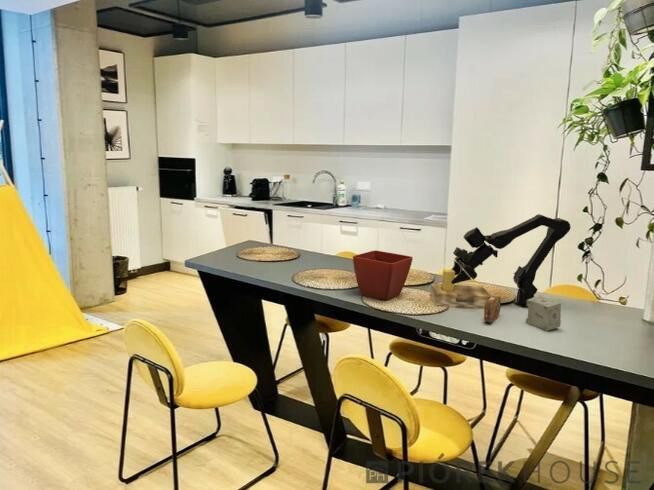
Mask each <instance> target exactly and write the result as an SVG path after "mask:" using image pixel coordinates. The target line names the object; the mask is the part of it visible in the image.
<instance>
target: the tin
mask: <svg viewBox="0 0 654 490" xmlns="http://www.w3.org/2000/svg"><path fill="white" fill-rule="evenodd" d="M491 296H492V297H491V298H489V299H488V300H487V301H486V303H485V307H484V308H483V310H484V311H483V313H484V314H483V321H484V322H485V323H490V324H493V323H494V322H495V321H496V320H497V319H498V318H499V316H500V312H501V305H502V304H501V297H500V295H498V296H496V295H491Z"/></svg>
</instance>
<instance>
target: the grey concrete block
mask: <svg viewBox="0 0 654 490" xmlns="http://www.w3.org/2000/svg"><path fill="white" fill-rule="evenodd" d="M526 305H527V306H528V307H527V308H528V309H527V317H526V319H525V323H526V324H527V325H530V326H535V327H536V328H540V329H542V330H543V331H545V330H546V331H551V330H554V329H557V328H560V327H561V324H562V323H561V322H562V321H561V317H562V316H561V315H562V314H561V311H562V304H561V302H560V301H558V300H554V299H552V298H549V297H547V296H543V295H537V296H534V298H531V299H528V300H527V301H526ZM546 331H545V332H546Z"/></svg>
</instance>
